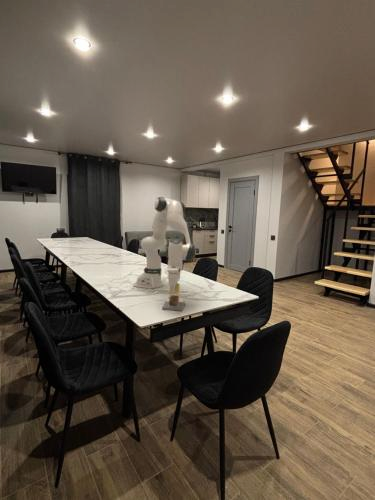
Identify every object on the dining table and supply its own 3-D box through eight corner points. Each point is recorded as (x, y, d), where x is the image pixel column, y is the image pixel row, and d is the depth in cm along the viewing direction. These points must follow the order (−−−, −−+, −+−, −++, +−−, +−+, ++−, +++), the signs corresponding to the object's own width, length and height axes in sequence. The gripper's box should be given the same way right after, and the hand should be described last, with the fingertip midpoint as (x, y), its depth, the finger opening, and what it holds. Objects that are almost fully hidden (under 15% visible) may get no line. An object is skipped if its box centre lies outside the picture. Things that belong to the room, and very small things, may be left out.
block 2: (169, 305, 160) (169, 297, 160) (170, 303, 165) (170, 295, 164) (177, 306, 160) (177, 298, 159) (178, 303, 165) (178, 295, 164)
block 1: (169, 293, 159) (170, 285, 159) (171, 291, 164) (171, 283, 163) (178, 294, 159) (178, 285, 158) (179, 291, 164) (179, 283, 163)
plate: (162, 309, 157) (162, 307, 157) (166, 302, 169) (166, 300, 169) (182, 310, 156) (182, 308, 156) (184, 304, 168) (184, 302, 168)
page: (166, 301, 172) (166, 301, 171) (168, 298, 178) (168, 297, 178) (182, 302, 170) (182, 302, 170) (183, 299, 177) (183, 298, 177)
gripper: (172, 264, 170) (172, 285, 172) (166, 270, 150) (166, 294, 152) (182, 264, 169) (182, 285, 171) (177, 271, 149) (177, 294, 151)
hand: (174, 289), depth 161 cm, fingers closed on block 1, 5 cm apart
